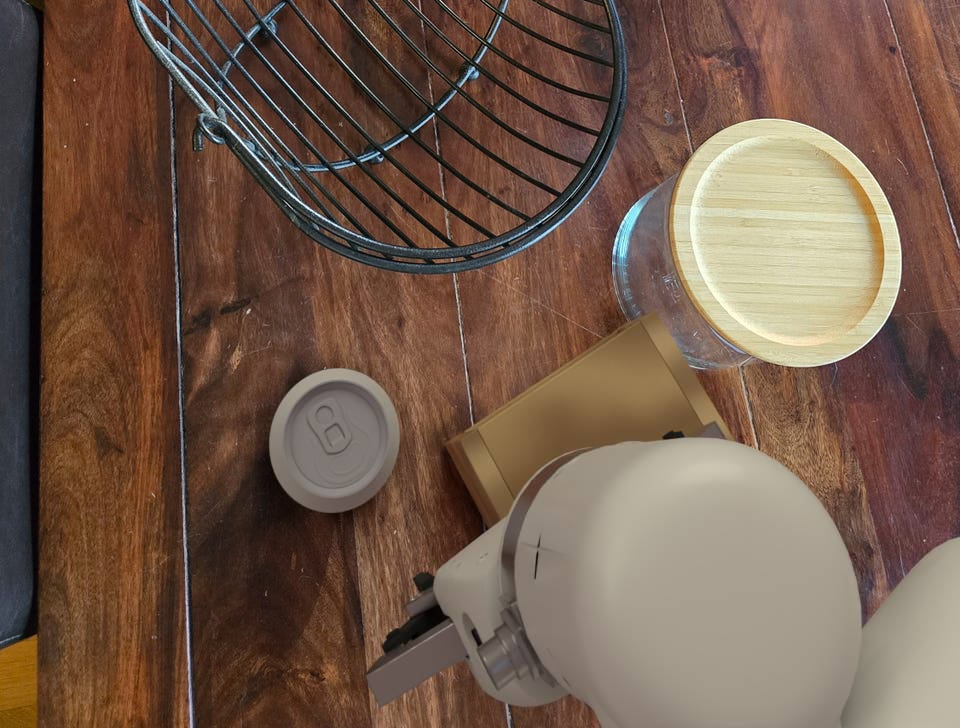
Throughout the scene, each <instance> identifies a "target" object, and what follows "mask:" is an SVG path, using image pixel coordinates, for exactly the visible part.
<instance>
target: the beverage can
mask: <svg viewBox="0 0 960 728" xmlns="http://www.w3.org/2000/svg"><path fill="white" fill-rule="evenodd" d="M268 441H269V442H268V443H269V444H268V446H269V447H268V449H269V457H270V463H271V467H272V470H273V473H274V475H275V477H276V479H277V481H278V483H279V485H280V486H281V488H282V489H283V490H284V491H285V492H286V493H287V495H288V496H289V497H291V499H293V500H294V501H295V502H297V503H298V504H300V505H301V506H303V507H305V508H307V509H310V510H312V511H316V512H319V513H325V514H326V513H327V514H328V513H329V514H335V513H343V512H346V511H350V510H353V509H356V508H358V507H360V506H362V505H363V504H365V503H367V502H368V501H370V500H371V499H372V498H373V497H375V495H377V493H379V491H380V490H381V489H382V488H383V487H384V485H385V484H386V482H387V481H388V480H389V478H390V476H391V474H392V472H393V470H394V468H395V464H396V463H397V460H398V456H399V451H400V443H401V442H400V441H401V430H400V421H399V417H398V414H397V411H396V408H395V406H394V403H393V402H392V400H391V398H390V397H389V395H388V393H387V392H386V391H385V390H384V388H383V387H382V386H380V384H379V383H377V382H376V381H375V379H373V378H371V377H370V376H368V375H366V374H364V373H362V372H360V371H358V370H353V369H350V368H344V367H343V368H341V367H338V368H336V367H335V368H328V369H327V368H326V369H322V370H319V371H316V372H313V373H312V374H310V375H308V376H306V377H303V378H302V379H301V380H300V381H299V382H298V383H296V384H295V385H293V387H292V388H291V389H290V390H289V391H288V392H287V393H286V395H285V396H284V397H283V399H282V400H281V402H280V403H279V405H278V407H277V409H276V411H275V413H274V416H273V418H272V422H271V426H270V432H269V439H268Z"/></svg>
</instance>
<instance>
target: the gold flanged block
mask: <svg viewBox="0 0 960 728" xmlns="http://www.w3.org/2000/svg"><path fill="white" fill-rule="evenodd" d="M713 421H716V423H717V424H718V426H719V427H720V429H721V431H722V432H723V434H724V436H725V437H726V439H727V440H729V441H734V442H737V441H736V439H735V438H734V436H733V435H732V433H731V431H730V429H729V428H728V426H727V425H726V424H725V421H724V420H723V419H722V416H721V415H720V414H719V412H718V410H717V408H716V407H715V405H714V403H713V402H712V400H711V398H710V397H709V395H708V393H707V392H706V390H705V388H704V387H703V385H702V384H701V382H700V381H699V378H698V377H697V376H696V374H695V372H694V371H693V369H692V368H691V366H690V364H689V362H688V360H687V359H686V358H685V356H684V354H683V353H682V350H680V347H679V345H678V344H677V343H676V341H675V339H674V338H673V336H672V334H671V333H670V331H669V329H668V328H667V326H666V325H665V323H664V321H663V320H662V318H661V317H660V315H659V313H658V311H657V310H656V309H653V310H651V311H649V312H647V313H645V314H643V315H641V316H638V317H636V318H634V319H632V320H630V321H627V322H625V323H624V324H622V325H621V326H619V327H618V328H617V329H614V330H613V331H611V333H609V334H608V335H607V336H605V337H604V338H602V339H601V340H599V341H598V342H596V343H594V344H593V345H592V346H590V347H589V348H587V349H586V350H584V351H583V352H581V353H579V354H578V355H576V356H575V357H574V358H572V359H571V360H568V361H567V362H566V363H565V364H563V365H561V366H560V367H559V368H557V369H555V370H554V371H553V372H551V373H550V374H548V375H546V376H545V377H543V378H542V379H540V380H539V381H537V382H536V383H534V384H533V385H532V386H530V387H528V388H527V389H526V390H523V392H521V393H519V394H518V395H517V396H515V397H513V398H512V399H510V400H509V401H508V402H505V403H504V404H503V405H501V406H500V407H499V408H498V407H497V408H496V409H495V410H494V411H492V412H491V413H489V414H487V416H485V417H484V418H481V419H480V420H479V421H476V423H474V424H473V425H471V426H470V427H468V428H466V429H465V430H464V431H463V432H460V433H458V434H457V435H455V436H454V437H452V438H450V439H449V440H448V441H446V442H445V443H444V446H445V448H446V451H447V452H448V455H449V456H450V458H451V460H452V462H453V463H454V466H455V468H456V469H457V471H458V473H459V475H460V477H461V479H462V481H463V483H464V485H465V487H466V489H467V490H468V492H469V495H470V497H471V498H472V500H473V502H474V504H475V506H476V507H477V510H478V512H479V513H480V516H481V517H482V519H483V521H484V523H485V525H486V527H487V529H488V530H489V529H490V528H491V527H493V526H494V525H495V524H497V523H498V522H499V521H501V520H502V519H503V518H505V517H506V516H507V515H508V513H509V511H510V509H511V507H512V505H513V502H514V500H515V499H516V497H517V495H518V494H519V492H520V491H521V489H522V488H523V486H524V485H525V484H526V483H527V482H528V481H529V480H530V478H531V477H532V476H533V475H534V474H535V473H536V472H537V471H538V470H539V469H540V468H542V467H543V466H544V465H546V464H547V463H549V462H550V461H552V460H553V459H555V458H557V457H559V456H561V455H563V454H565V453H568V452H571V451H574V450H577V449H582V448H588V447H598V446H608V445H616V444H618V443H621V442H627V441H635V440H637V439H639V440H640V442H650V441H660V440H663V438H662V437H663V436H664V435H665V434H667V433H668V432H670V431H672V430H673V431H674V432H677V431H678V432H679V431H682V433H683V434H684V436H686V435H688V434H689V433H690V432H691V431H693V430H695V429H697V428H700V427H702V426H704V425H706V424H708V423H710V422H713Z"/></svg>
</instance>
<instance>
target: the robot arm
mask: <svg viewBox="0 0 960 728" xmlns="http://www.w3.org/2000/svg"><path fill="white" fill-rule="evenodd" d="M662 438H663V440H660V441H650V442H640V440H639V439H637V440H635V441H627V442H621V443H618V444H616V445H608V446H598V447H588V448H582V449H577V450H574V451H571V452H568V453H565V454H563V455H561V456H559V457H557V458H555V459H553V460H552V461H550V462H549V463H547V464H546V465H544V466H543V467H542V468H540V469H539V470H538V471H537V472H536V473H535V474H534V475H533V476H532V477H531V478H530V480H529V481H528V482H527V483H526V484H525V485H524V486H523V488H522V489H521V491H520V492H519V494H518V495H517V497H516V499H515V500H514V502H513V505H512V507H511V509H510V511H509V513H508V515H507V516H506V517H505V518H503V519H502V520H501V521H499V522H498V523H497V524H495V525H494V526H493V527H491V528H490V529H488V530H486V531H485V532H483V533H482V534H481V535H480V536H478V537H477V538H476V539H475V540H473V541H472V542H470V543H469V544H468V545H467V546H465V547H464V548H463V549H462V550H460V551H459V552H458V553H457V554H455V555H454V556H452V558H450V559H448V560H447V561H446V562H445V563H444V564H442V565H441V566H440V567H439V568H438V569H437V571H436V573H435V575H434V574H432V573H430V572H429V571H426V572H424V571H420V572H419V573H417V574H416V575H414V576H413V577H412V581H413V583H414V586H415V587H416V589H417V591H418V593H417V594H415V596H413V597H411V599H409V600H408V601H407V602H406V603H404V606H403V607H404V609H405V611H406V613H407V616H408V617H409V619H408V620H407V621H406V622H405V623H404V624H402V626H400V627H396V628H394V629H392V630H391V631H389V632H388V633H387V634H386V636H385V640H384V641H383V643H382V645H381V649H382V651H383V654H382V655H380V656H379V657H378V658H377V659H375V662H373V664H372V665H371V667H369V669H368V670H367V671H366V672H365V674H364V677H365V680H366V681H367V683H368V685H369V688H370V690H371V692H372V694H373V697H374V698H375V701H376V703H377V705H378V707H379V708H383V707H384V706H387V705H389V704H390V703H392V702H393V701H395V700H397V699H398V698H400V697H401V696H403V695H405V694H406V693H408V692H409V691H411V690H413V689H414V688H416V687H418V686H419V685H421V684H422V683H424V682H426V681H427V680H429V679H431V678H432V677H434V676H436V675H438V674H439V673H440V672H443V671H444V670H446V669H448V668H451V667H453V666H455V665H457V664H460V663H461V662H463V661H465V663H466V665H467V666H468V669H469V670H470V672H471V674H472V675H473V678H474V679H475V681H476V682H477V684H478V685H479V687H480V688H481V689H482V691H483V692H484V693H486V694H487V695H489V696H490V697H491V698H493V699H495V700H497V701H499V702H501V703H504V704H507V705H511V706H514V707H521V708H531V707H540V706H544V705H549V704H552V703H555V702H557V701H559V700H561V699H563V698H564V697H567V696H569V695H571V696H572V697H574V698H576V699H577V700H579V701H580V703H582V704H584V705H585V706H586V707H588V708H589V709H590V710H592V711H593V712H594V714H595V717H596V719H597V720H598V722H599V725H600V727H601V728H960V536H958V537H955V538H951V539H948V540H946V541H944V542H942V543H940V544H939V545H936V546H935V547H934V548H932V549H931V550H930V551H928V553H926V554H925V555H924V556H923V557H922V558H921V559H920V560H919V561H918V562H917V563H916V564H915V565H914V566H913V567H912V568H911V569H910V570H909V571H908V572H907V574H906V575H905V576H904V577H903V578H902V579H901V580H900V582H898V584H896V586H895V587H894V588H893V590H892V591H891V592H890V593H889V595H888V596H887V597H886V598H885V599H884V601H883V602H881V604H880V605H879V607H878V608H877V609H876V610H875V612H874V613H873V614H872V616H871V617H869V619H868V621H866V623H865V624H864V625H862V624H863V623H862V603H861V598H860V597H861V596H860V592H859V586H858V585H859V584H858V581H857V580H858V579H857V576H856V572H855V570H854V567H853V563H852V560H851V556H850V554H849V551H848V548H847V547H846V544H845V542H844V540H843V537H842V536H841V533H840V531H839V529H838V527H837V525H836V523H835V522H834V520H833V518H832V516H830V514H829V512H828V511H827V509H826V507H825V506H824V505H823V503H822V501H821V500H820V499H819V498H818V497H817V496H816V495H815V494H814V492H813V491H812V490H811V488H809V487H808V485H806V483H805V482H804V481H803V480H802V479H801V478H799V476H797V475H796V474H795V473H793V472H792V471H791V470H790V469H789V468H788V467H786V466H785V465H784V464H782V463H781V462H780V461H778V460H776V459H774V458H773V457H772V456H769V455H767V454H766V453H764V452H762V451H760V450H759V449H757V448H754V447H752V446H749V445H747V444H744V443H740V442H737V441H736V442H734V441H729V440H727V439H726V437H725V436H724V434H723V432H722V431H721V429H720V427H719V426H718V424H717V423H716V421H713V422H710V423H708V424H706V425H704V426H702V427H700V428H697V429H695V430H693V431H691V432H690V433H689V434H688V435H686V436H684V434H683V433H682V431H679V432H678V431H677V432H674V431H673V430H672V431H670V432H668V433H667V434H665V435H664V436H663V437H662Z"/></svg>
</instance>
